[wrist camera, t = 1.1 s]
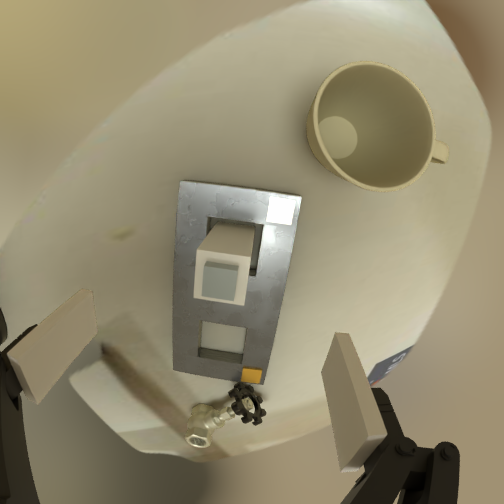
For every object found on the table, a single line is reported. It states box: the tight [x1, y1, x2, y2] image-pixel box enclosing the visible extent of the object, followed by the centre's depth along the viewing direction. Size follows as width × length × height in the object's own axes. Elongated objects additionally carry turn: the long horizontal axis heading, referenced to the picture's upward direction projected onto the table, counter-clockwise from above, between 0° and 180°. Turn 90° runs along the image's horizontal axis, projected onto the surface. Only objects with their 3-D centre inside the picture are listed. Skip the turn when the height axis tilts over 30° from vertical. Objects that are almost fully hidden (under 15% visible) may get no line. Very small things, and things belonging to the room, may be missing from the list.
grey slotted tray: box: [173, 180, 302, 385], centre depth 31 cm, size 12×24×2 cm, turn 172°
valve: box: [185, 382, 266, 448], centre depth 35 cm, size 7×7×12 cm
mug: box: [306, 61, 449, 192], centre depth 21 cm, size 11×10×12 cm
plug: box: [193, 221, 255, 306], centre depth 25 cm, size 4×4×11 cm
